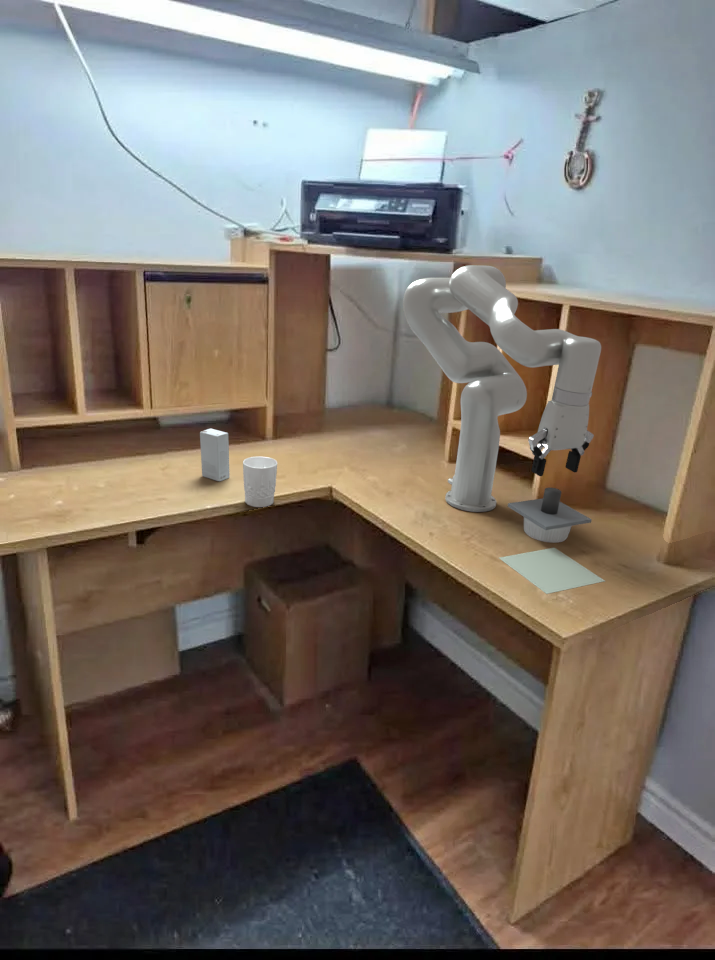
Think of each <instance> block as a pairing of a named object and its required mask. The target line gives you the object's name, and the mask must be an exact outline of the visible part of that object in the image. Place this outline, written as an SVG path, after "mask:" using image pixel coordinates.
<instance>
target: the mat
mask: <svg viewBox="0 0 715 960" xmlns="http://www.w3.org/2000/svg"><path fill="white" fill-rule="evenodd" d="M498 559H499V560H501V561H502V562H503V563H505V564H506V565H507V566H509V567H510V568H511V569H513V570H514V571H515V572H517V573H518V574H519V575H521V576H522V577H523V578H524V579H525V580H527V581H528V582H530V584H533V585H534V586H535V587H537V588H538V589H539V590H541V591H542V592H543V593H545V594H546V595H548V594H553V593H557V592H562V591H567V590H571V589H575V588H580V587H585V586H589V585H593V584H597V583H598V584H599V583H602V582H603V583H604V582H606V580H604V579H603V578H602V577H600V576H599V575H597V574H595V573H594V572H592V571H591V570H590V569H588V568H586V567H585V566H583V565H582V564H580V563H579V562H577V561H576V560H575V559H572V558H571V557H570V556H568V555H567V554H565V553H563V552H562V551H561V550H559V549H558V548H556V547H551V548H550V547H549V548H544V549H538V550H534V551H527V552H524V553H523V552H522V553H517V554H516V553H515V554H512V555H507V556H501V557H498Z"/></svg>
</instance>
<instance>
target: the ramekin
mask: <svg viewBox="0 0 715 960" xmlns="http://www.w3.org/2000/svg"><path fill="white" fill-rule="evenodd" d="M572 527H573V526H568V527H562V528H556V529H550V530H544V529H543V528H541V527H539V526H538V525H536V524H535V523H533V522H531V521H530V520H528V519H527V518H525V517H523V531H524V532H525V534H526V535H527V536H528V537H530V538H532V539H534V540H537V541H539V542H544V543H553V544H555V543H562V542H564V541H565V540H567V538H568V537H569V534H570V532H571V529H572Z"/></svg>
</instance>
